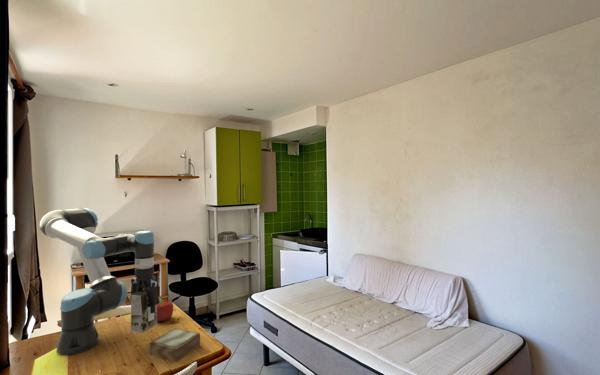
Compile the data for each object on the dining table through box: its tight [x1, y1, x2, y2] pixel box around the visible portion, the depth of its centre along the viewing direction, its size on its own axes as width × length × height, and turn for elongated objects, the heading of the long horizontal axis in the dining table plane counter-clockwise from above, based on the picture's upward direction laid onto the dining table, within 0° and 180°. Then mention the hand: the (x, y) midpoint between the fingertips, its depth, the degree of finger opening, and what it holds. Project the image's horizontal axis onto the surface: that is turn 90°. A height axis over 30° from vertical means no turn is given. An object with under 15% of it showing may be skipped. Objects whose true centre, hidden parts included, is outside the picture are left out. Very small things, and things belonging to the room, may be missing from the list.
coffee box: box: [130, 288, 158, 334], centre depth 139 cm, size 9×6×16 cm
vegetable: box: [157, 298, 174, 323], centre depth 164 cm, size 11×10×10 cm
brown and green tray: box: [149, 327, 201, 362], centre depth 135 cm, size 14×14×5 cm
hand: (144, 318), depth 140 cm, fingers closed on coffee box, 7 cm apart
